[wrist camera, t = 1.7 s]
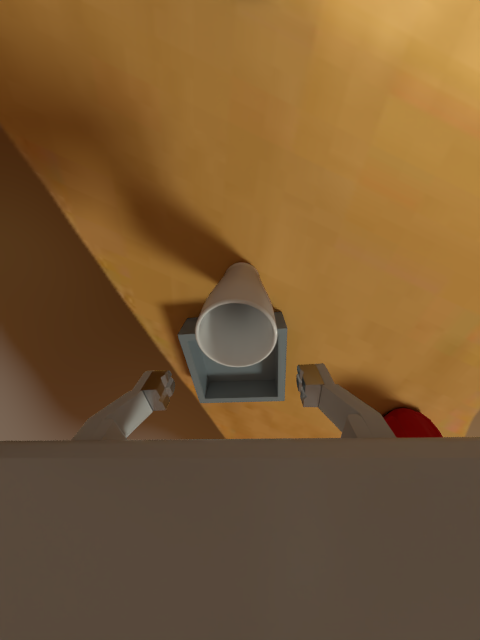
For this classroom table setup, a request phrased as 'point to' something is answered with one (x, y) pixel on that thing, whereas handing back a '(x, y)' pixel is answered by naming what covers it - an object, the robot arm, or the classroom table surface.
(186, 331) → the bin
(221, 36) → the classroom table surface
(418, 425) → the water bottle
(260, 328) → the drinking glass
